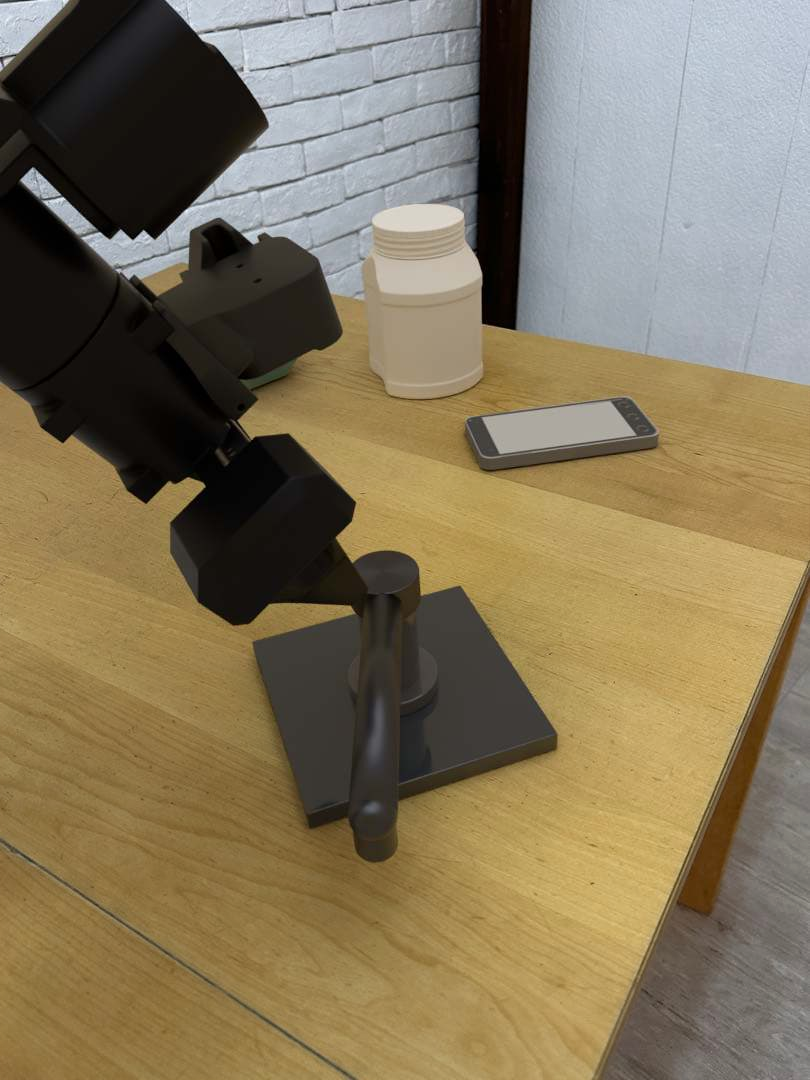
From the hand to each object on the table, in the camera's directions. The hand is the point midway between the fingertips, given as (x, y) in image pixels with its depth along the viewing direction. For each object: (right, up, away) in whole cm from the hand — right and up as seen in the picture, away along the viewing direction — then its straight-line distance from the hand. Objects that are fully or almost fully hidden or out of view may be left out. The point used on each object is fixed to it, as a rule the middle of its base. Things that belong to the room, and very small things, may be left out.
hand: (318, 543), depth 43 cm
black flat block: (+4, -9, +10) cm, 14 cm away
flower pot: (-11, +16, +47) cm, 51 cm away
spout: (+3, -8, 0) cm, 8 cm away
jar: (+6, +16, +45) cm, 49 cm away
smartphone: (+17, +9, +33) cm, 39 cm away
